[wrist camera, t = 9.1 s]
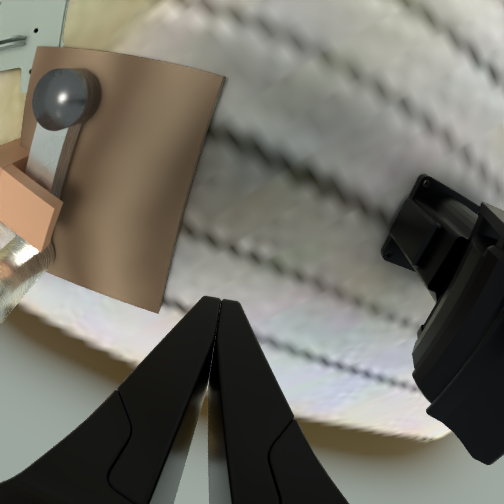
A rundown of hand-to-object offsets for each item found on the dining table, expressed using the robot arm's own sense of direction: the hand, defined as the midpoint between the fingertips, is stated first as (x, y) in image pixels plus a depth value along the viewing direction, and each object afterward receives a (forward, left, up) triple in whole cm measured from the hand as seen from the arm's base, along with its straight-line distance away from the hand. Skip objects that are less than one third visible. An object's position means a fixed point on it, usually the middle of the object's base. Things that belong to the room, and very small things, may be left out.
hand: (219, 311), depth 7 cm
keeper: (+14, +5, -13) cm, 19 cm away
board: (+9, +3, -13) cm, 16 cm away
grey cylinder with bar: (+13, +4, -11) cm, 17 cm away
